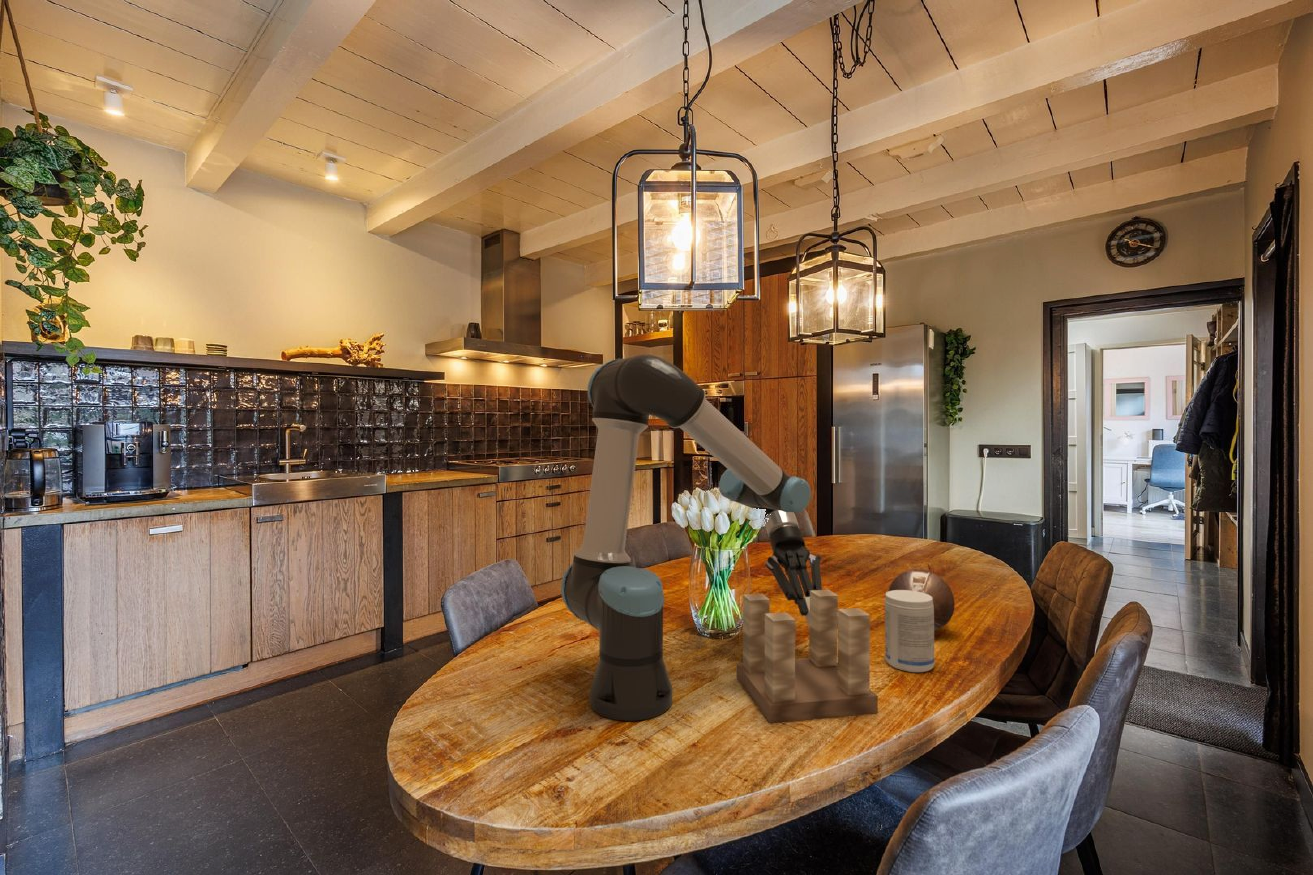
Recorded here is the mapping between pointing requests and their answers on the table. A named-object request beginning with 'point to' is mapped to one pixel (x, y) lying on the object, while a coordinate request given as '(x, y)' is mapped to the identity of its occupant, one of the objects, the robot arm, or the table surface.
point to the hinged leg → (823, 628)
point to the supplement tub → (909, 630)
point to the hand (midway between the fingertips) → (815, 628)
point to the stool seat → (804, 667)
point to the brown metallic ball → (928, 592)
